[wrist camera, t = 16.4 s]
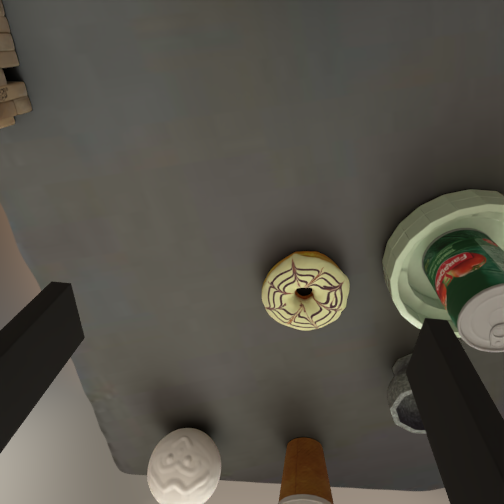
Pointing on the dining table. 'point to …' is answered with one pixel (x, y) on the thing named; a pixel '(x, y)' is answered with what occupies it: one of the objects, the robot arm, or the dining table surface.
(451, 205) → the bowl
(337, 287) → the decorated donut
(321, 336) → the dining table surface
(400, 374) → the mortar and pestle
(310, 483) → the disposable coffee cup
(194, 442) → the decorative ball
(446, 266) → the canned tomato
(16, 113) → the block tower
